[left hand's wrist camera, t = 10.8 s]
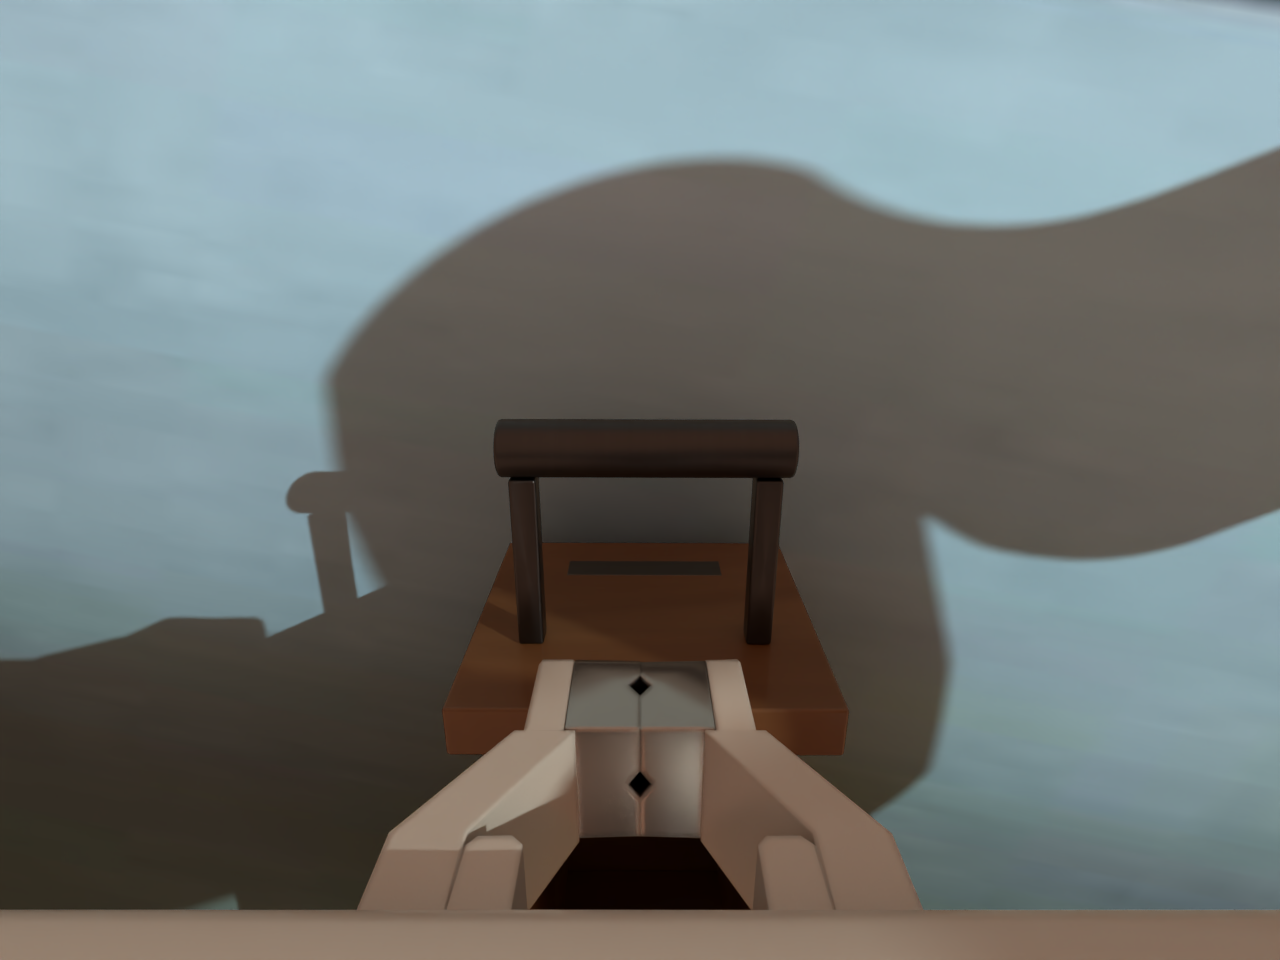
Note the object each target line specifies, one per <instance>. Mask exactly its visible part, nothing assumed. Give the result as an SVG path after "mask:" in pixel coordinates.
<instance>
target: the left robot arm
mask: <svg viewBox="0 0 1280 960" xmlns="http://www.w3.org/2000/svg"><path fill="white" fill-rule="evenodd" d="M630 836H648V837H683V838H701V842H702V843H703V845H704V846H705V848H706V849H707V850H708V852H709V853H710V854H711V856H712V857H713V859H714V860H715V861H716V863H717V864H718V865H719V867H720V868H721V870H722V871H723V872H724V874H725V875H726V876H727V878H728V879H729V880H730V882H731V883H732V885H733V886H734V887H735V889H736V890H737V891H738V893H739V894H740V896H741V897H742V898H743V900H744V901H745V902H746V904H747V905H748V907H749V908H750V909H751V910H530V908H531V907H532V906H533V904H534V903H535V902H536V900H537V899H538V897H539V896H540V895H541V893H542V892H543V891H544V889H545V888H546V887H547V885H548V884H549V882H550V881H551V880H552V878H553V877H554V876H555V874H556V873H557V872H558V870H559V869H560V867H561V866H562V865H563V863H564V862H565V861H566V859H567V858H568V856H569V855H570V854H571V852H572V851H573V850H574V848H575V847H576V846H577V844H578V843H579V838H596V837H630ZM0 960H1280V910H923V908H922V905H921V903H920V901H919V898H918V896H917V893H916V891H915V888H914V886H913V884H912V881H911V879H910V876H909V874H908V871H907V869H906V867H905V864H904V862H903V859H902V857H901V854H900V852H899V850H898V847H897V845H896V842H895V840H894V837H893V835H892V833H891V832H889V831H888V830H887V829H886V828H884V827H883V826H882V825H881V824H880V823H878V822H877V821H876V820H875V819H873V818H872V817H871V816H870V815H869V814H867V813H866V812H865V811H864V810H862V809H861V808H860V807H859V806H858V805H856V804H855V803H854V802H853V801H852V800H850V799H849V798H848V797H847V796H845V795H844V794H843V793H842V792H841V791H839V790H838V789H837V788H836V787H834V786H833V785H832V784H831V783H830V782H828V781H827V780H826V779H825V778H823V777H822V776H821V775H820V774H819V773H817V772H816V771H815V770H814V769H812V768H811V767H810V766H809V765H808V764H806V763H805V762H804V761H803V760H801V759H800V758H799V757H798V756H797V755H795V754H794V753H793V752H792V751H790V750H789V749H788V748H787V747H786V746H784V745H783V744H782V743H781V742H779V741H778V740H777V739H776V738H775V737H773V736H772V735H771V734H770V733H768V732H767V731H766V730H756V727H755V723H754V719H753V715H752V710H751V706H750V702H749V697H748V693H747V689H746V685H745V680H744V676H743V672H742V667H741V663H740V662H739V661H738V660H737V659H725V660H705V661H664V662H640V661H616V660H576V661H574V660H542V661H541V663H540V664H539V667H538V671H537V675H536V680H535V684H534V688H533V693H532V697H531V701H530V706H529V710H528V714H527V719H526V723H525V727H524V730H514V731H513V732H512V733H510V734H509V735H508V736H507V737H505V738H504V739H503V740H502V741H501V742H499V743H498V744H497V745H496V746H494V747H493V748H492V749H491V750H489V751H488V752H487V753H486V754H485V755H483V756H482V757H481V758H480V759H478V760H477V761H476V762H475V763H474V764H472V765H471V766H470V767H469V768H467V769H466V770H465V771H464V772H462V773H461V774H460V775H459V776H458V777H456V778H455V779H454V780H453V781H451V782H450V783H449V784H448V785H447V786H445V787H444V788H443V789H442V790H440V791H439V792H438V793H437V794H436V795H434V796H433V797H432V798H431V799H429V800H428V801H427V802H426V803H424V804H423V805H422V806H421V807H420V808H418V809H417V810H416V811H415V812H413V813H412V814H411V815H410V816H409V817H407V818H406V819H405V820H404V821H402V822H401V823H400V824H399V825H397V826H396V827H395V828H394V829H393V830H391V831H390V832H389V833H388V836H387V838H386V841H385V843H384V845H383V848H382V850H381V853H380V855H379V857H378V860H377V862H376V865H375V867H374V869H373V872H372V874H371V877H370V879H369V881H368V884H367V886H366V889H365V891H364V893H363V896H362V898H361V900H360V903H359V905H358V908H357V910H0Z"/></svg>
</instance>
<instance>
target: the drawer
mask: <svg viewBox="0 0 1280 960" xmlns="http://www.w3.org/2000/svg"><path fill="white" fill-rule="evenodd" d="M493 452H494V463H495V468H496V471H497V474H498V475H499V476H500V477H510V479H509V482H508V486H509V501H510V516H511V530H512V543H510V545H509V547H508V550H507V552H506V555H505V557H504V559H503V562H502V564H501V567H500V569H499V572H498V574H497V577H496V579H495V581H494V584H493V586H492V589H491V591H490V594H489V596H488V599H487V601H486V604H485V606H484V608H483V611H482V613H481V616H480V618H479V621H478V623H477V626H476V628H475V630H474V633H473V635H472V638H471V640H470V643H469V645H468V648H467V650H466V653H465V655H464V657H463V660H462V662H461V665H460V667H459V670H458V672H457V675H456V677H455V680H454V682H453V684H452V687H451V689H450V692H449V694H448V697H447V699H446V702H445V704H444V706H443V709H442V713H443V722H444V730H445V739H446V747H447V753H448V754H486V753H487V752H488V751H489V750H491V749H492V748H493V747H494V746H496V745H497V744H498V743H499V742H501V741H502V740H503V739H504V738H505V737H507V736H508V735H509V734H510V733H512V732H513V731H514V730H524V727H525V723H526V719H527V714H528V710H529V706H530V701H531V697H532V693H533V688H534V684H535V680H536V675H537V671H538V667H539V664H540V663H541V661H542V660H574V661H576V660H616V661H640V662H664V661H705V660H725V659H737V660H738V661H739V662H740V663H741V667H742V672H743V676H744V680H745V685H746V689H747V693H748V697H749V702H750V706H751V710H752V715H753V719H754V723H755V727H756V730H766V731H767V732H768V733H770V734H771V735H772V736H773V737H775V738H776V739H777V740H778V741H779V742H781V743H782V744H783V745H784V746H786V747H787V748H788V749H789V750H790V751H792V752H793V753H794V754H795V755H843V753H844V747H845V739H846V732H847V724H848V716H849V709H848V707H847V705H846V702H845V700H844V698H843V695H842V693H841V690H840V688H839V686H838V683H837V681H836V679H835V676H834V674H833V672H832V669H831V667H830V665H829V662H828V660H827V658H826V655H825V653H824V651H823V648H822V646H821V644H820V641H819V639H818V637H817V634H816V632H815V630H814V627H813V625H812V623H811V620H810V618H809V615H808V613H807V611H806V608H805V606H804V604H803V601H802V599H801V597H800V594H799V592H798V590H797V587H796V585H795V583H794V580H793V578H792V576H791V573H790V571H789V569H788V566H787V564H786V562H785V559H784V557H783V555H782V552H781V550H780V548H779V535H780V522H781V510H782V497H783V484H784V483H783V480H782V478H791V477H793V476H794V475H795V473H796V470H797V466H798V459H799V436H798V430H797V427H796V424H795V422H794V421H792V420H639V419H501V420H499V421H498V422H497V424H496V427H495V432H494V443H493ZM539 477H623V478H753V483H752V499H751V515H750V531H749V543H542V531H541V512H540V492H539ZM530 910H751V909H750V908H749V907H748V905H747V904H746V902H745V901H744V900H743V898H742V897H741V896H740V894H739V893H738V891H737V890H736V889H735V887H734V886H733V885H732V883H731V882H730V880H729V879H728V878H727V876H726V875H725V874H724V872H723V871H722V870H721V868H720V867H719V865H718V864H717V863H716V861H715V860H714V859H713V857H712V856H711V854H710V853H709V852H708V850H707V849H706V848H705V846H704V845H703V843H702V842H701V838H683V837H648V836H630V837H596V838H579V843H578V844H577V846H576V847H575V848H574V850H573V851H572V852H571V854H570V855H569V856H568V858H567V859H566V861H565V862H564V863H563V865H562V866H561V867H560V869H559V870H558V872H557V873H556V874H555V876H554V877H553V878H552V880H551V881H550V882H549V884H548V885H547V887H546V888H545V889H544V891H543V892H542V893H541V895H540V896H539V897H538V899H537V900H536V902H535V903H534V904H533V906H532V907H531V908H530Z"/></svg>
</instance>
